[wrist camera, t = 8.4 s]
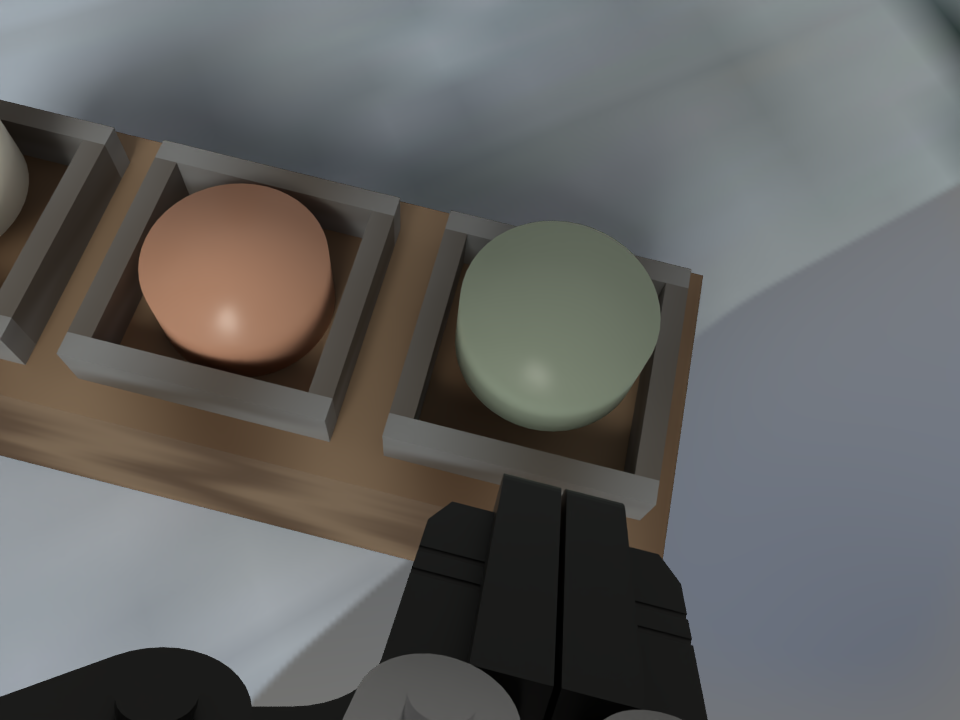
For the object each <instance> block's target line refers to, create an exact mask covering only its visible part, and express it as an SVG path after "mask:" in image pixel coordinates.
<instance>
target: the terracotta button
mask: <svg viewBox="0 0 960 720" xmlns="http://www.w3.org/2000/svg"><path fill="white" fill-rule="evenodd" d="M138 273H139V282H140V286H141V290H142V292H143V295H144V297H145V299H146V301H147V303H148V305H149V307H150V308H151V310H152V312H153V313H154V315H155V317H156V319H157V320H158V322H159V324H160V326H161V327H162V329H163V331H164V333H165V334H166V336H167V338H168V339H169V341H170V342H171V344H172V346H173V347H174V348H175V349H176V350H177V351H178V353H179V354H180V355H182V356H183V357H184V358H185V359H186V360H187V361H189V362H190V363H193V364H197V365H201V366H205V367H209V368H213V369H217V370H221V371H225V372H229V373H233V374H237V375H241V376H245V377H256V376H261V375H266V374H270V373H273V372H276V371H279V370H281V369H283V368H286V367H288V366H290V365H291V364H293V363H295V362H297V361H298V360H299V359H301V358H302V357H304V356H305V355H306V354H307V353H308V352H309V351H310V350H312V349H313V348H314V347H315V345H316V344H317V343H318V342H319V341H320V339H321V338H322V336H323V335H324V333H325V331H326V330H327V328H328V326H329V323H330V321H331V318H332V315H333V311H334V304H335V289H334V282H333V276H332V269H331V262H330V256H329V250H328V244H327V240H326V237H325V234H324V231H323V229H322V228H321V226H320V224H319V222H318V221H317V219H316V218H315V217H314V215H313V214H312V213H311V212H310V211H309V210H308V209H307V208H306V207H305V206H304V205H303V204H301V203H300V202H299V201H298V200H296V199H294V198H293V197H291V196H289V195H288V194H285V193H283V192H281V191H279V190H276V189H273V188H270V187H266V186H261V185H256V184H244V183H239V184H225V185H218V186H214V187H210V188H206V189H204V190H201V191H198V192H195V193H193V194H191V195H189V196H187V197H185V198H184V199H182V200H180V201H179V202H177V203H176V204H174V205H173V206H172V207H171V208H169V209H168V210H167V211H166V212H165V213H164V214H163V215H162V216H161V217H160V218H159V219H158V220H157V221H156V223H155V224H154V225H153V226H152V228H151V229H150V231H149V233H148V235H147V236H146V238H145V241H144V243H143V246H142V248H141V252H140V257H139V266H138Z"/></svg>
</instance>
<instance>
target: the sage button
mask: <svg viewBox="0 0 960 720" xmlns="http://www.w3.org/2000/svg"><path fill="white" fill-rule="evenodd" d="M660 321H661V316H660V305H659V300H658V295H657V293H656V290H655V287H654V284H653V282H652V280H651V278H650V276H649V274H648V273H647V271H646V270H645V268H644V267H643V265H642V264H641V263H640V262H639V260H638V259H637V258H636V257H635V256H634V255H633V254H632V253H631V252H630V251H629V250H628V249H627V248H626V247H624V246H623V245H622V244H620V243H619V242H618V241H616V240H615V239H613V238H612V237H610V236H608V235H606V234H604V233H603V232H600V231H598V230H595V229H593V228H591V227H587V226H584V225H581V224H576V223H571V222H564V221H540V222H533V223H528V224H524V225H521V226H517V227H515V228H512V229H510V230H508V231H506V232H504V233H502V234H500V235H499V236H497V237H495V238H494V239H493V240H491V241H490V242H489V243H487V244H486V245H485V246H484V247H483V248H482V249H481V250H480V251H479V253H478V254H477V255H476V257H475V258H474V259H473V261H472V262H471V264H470V266H469V268H468V270H467V271H466V274H465V277H464V280H463V283H462V288H461V293H460V300H459V309H458V317H457V325H456V334H455V349H456V357H457V361H458V365H459V368H460V370H461V373H462V375H463V377H464V379H465V381H466V383H467V385H468V386H469V388H470V389H471V390H472V392H473V393H474V394H475V396H476V397H477V398H478V399H479V400H480V401H481V402H482V403H483V404H484V405H485V406H486V407H487V408H489V409H490V410H491V411H492V412H494V413H495V414H497V415H498V416H500V417H502V418H503V419H505V420H507V421H509V422H512V423H514V424H516V425H519V426H522V427H525V428H528V429H534V430H539V431H552V432H555V431H568V430H573V429H578V428H581V427H584V426H587V425H590V424H592V423H594V422H596V421H598V420H600V419H601V418H603V417H604V416H606V415H607V414H609V413H610V412H611V411H612V410H613V409H615V408H616V407H617V406H618V405H619V404H620V402H621V401H622V400H623V399H624V397H625V396H626V395H627V393H628V391H629V390H630V388H631V387H632V385H633V383H634V382H635V380H636V379H637V377H638V375H639V374H640V372H641V371H642V369H643V368H644V366H645V364H646V363H647V361H648V359H649V358H650V356H651V354H652V353H653V350H654V348H655V345H656V343H657V340H658V336H659V331H660Z"/></svg>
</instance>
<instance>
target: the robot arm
mask: <svg viewBox="0 0 960 720" xmlns="http://www.w3.org/2000/svg"><path fill="white" fill-rule="evenodd" d="M686 615H687V613H686V607H685V603H684V598H683V592H682V587H681V584H680V582H679V581H678V580H677V578H676V577H675V575H674V574H673V573H672V571H671V570H670V569H669V567H668V566H667V565H666V563H665V562H664V561H663V559H662V558H661V557H660V555H659V554H656V553H652V552H648V551H644V550H640V549H636V548H632V547H629V540H628V530H627V521H626V511H625V505H624V504H623V503H619V502H615V501H612V500H608V499H604V498H600V497H596V496H592V495H588V494H584V493H580V492H576V491H572V490H568V489H565V490H564V492H563V494H562V496H561V488H560V487H556V486H552V485H548V484H544V483H540V482H536V481H533V480H529V479H525V478H521V477H517V476H513V475H509V474H505V473H504V474H503V477H502V480H501V483H500V487H499V491H498V494H497V498H496V502H495V506H494V509H493V512H492V511H488V510H484V509H480V508H476V507H472V506H468V505H464V504H460V503H457V502H453V501H452V502H451V503H449V504H448V505H447V506H445V507H444V508H442V509H441V510H440V511H438V512H437V513H436V514H434V515H433V516H431V517H430V518H429V519H428V521H427V524H426V527H425V530H424V533H423V536H422V539H421V542H420V545H419V548H418V551H417V554H416V557H415V560H414V563H413V566H412V569H411V573H410V575H409V578H408V581H407V584H406V587H405V590H404V593H403V596H402V599H401V602H400V605H399V608H398V611H397V614H396V617H395V620H394V623H393V626H392V629H391V632H390V635H389V638H388V641H387V644H386V648H385V650H384V653H383V656H382V659H381V661H380V663H379V665H378V666H376V667H375V668H373V669H372V670H371V671H370V672H369V673H368V674H367V675H366V676H365V677H364V678H363V680H362V681H361V683H360V684H359V686H358V688H357V689H356V690H354V691H353V692H351V693H349V694H347V695H345V696H343V697H340V698H338V699H335V700H332V701H329V702H325V703H320V704H315V705H309V706H295V707H252V706H251V699H250V696H249V693H248V691H247V689H246V686H245V685H244V684H243V682H242V681H241V679H240V678H239V676H237V675H236V674H235V673H234V672H233V671H232V670H231V669H230V668H229V667H227V666H226V665H224V664H223V663H221V662H220V661H218V660H216V659H214V658H212V657H210V656H208V655H205V654H202V653H198V652H195V651H191V650H186V649H180V648H165V647H159V648H145V649H139V650H134V651H129V652H126V653H122V654H119V655H115V656H112V657H110V658H107V659H104V660H101V661H99V662H96V663H93V664H90V665H87V666H85V667H82V668H79V669H76V670H74V671H71V672H68V673H65V674H62V675H60V676H57V677H54V678H51V679H49V680H46V681H43V682H40V683H37V684H35V685H32V686H29V687H26V688H24V689H21V690H18V691H15V692H12V693H10V694H7V695H4V696H1V697H0V720H708V719H707V714H706V710H705V704H704V699H703V694H702V689H701V684H700V679H699V674H698V669H697V663H696V658H695V653H694V648H693V646H692V645H691V640H692V638H691V633H690V628H689V623H688V620H687V619H686Z"/></svg>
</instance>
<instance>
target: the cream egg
mask: <svg viewBox="0 0 960 720" xmlns="http://www.w3.org/2000/svg"><path fill="white" fill-rule="evenodd" d="M28 187H29V173H28V168H27V164H26V161H25V159H24V156H23V155H22V153H21V151H20V150H19V148H18V147H17V145H16V143H15V142H14V140H13V139H12V137H11V136H10V134H9V133H8V131H7V129H6V128H5V126H4V125H3V123H2V122H1V120H0V236H1V235H2V234H3V233H5V232H6V231H7V229H8V228H9V227H10V226H11V225H12V224H13V222H14V221H15V219H16V218H17V216H18V215H19V213H20V211H21V209H22V207H23V205H24V203H25V200H26V197H27V193H28Z"/></svg>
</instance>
